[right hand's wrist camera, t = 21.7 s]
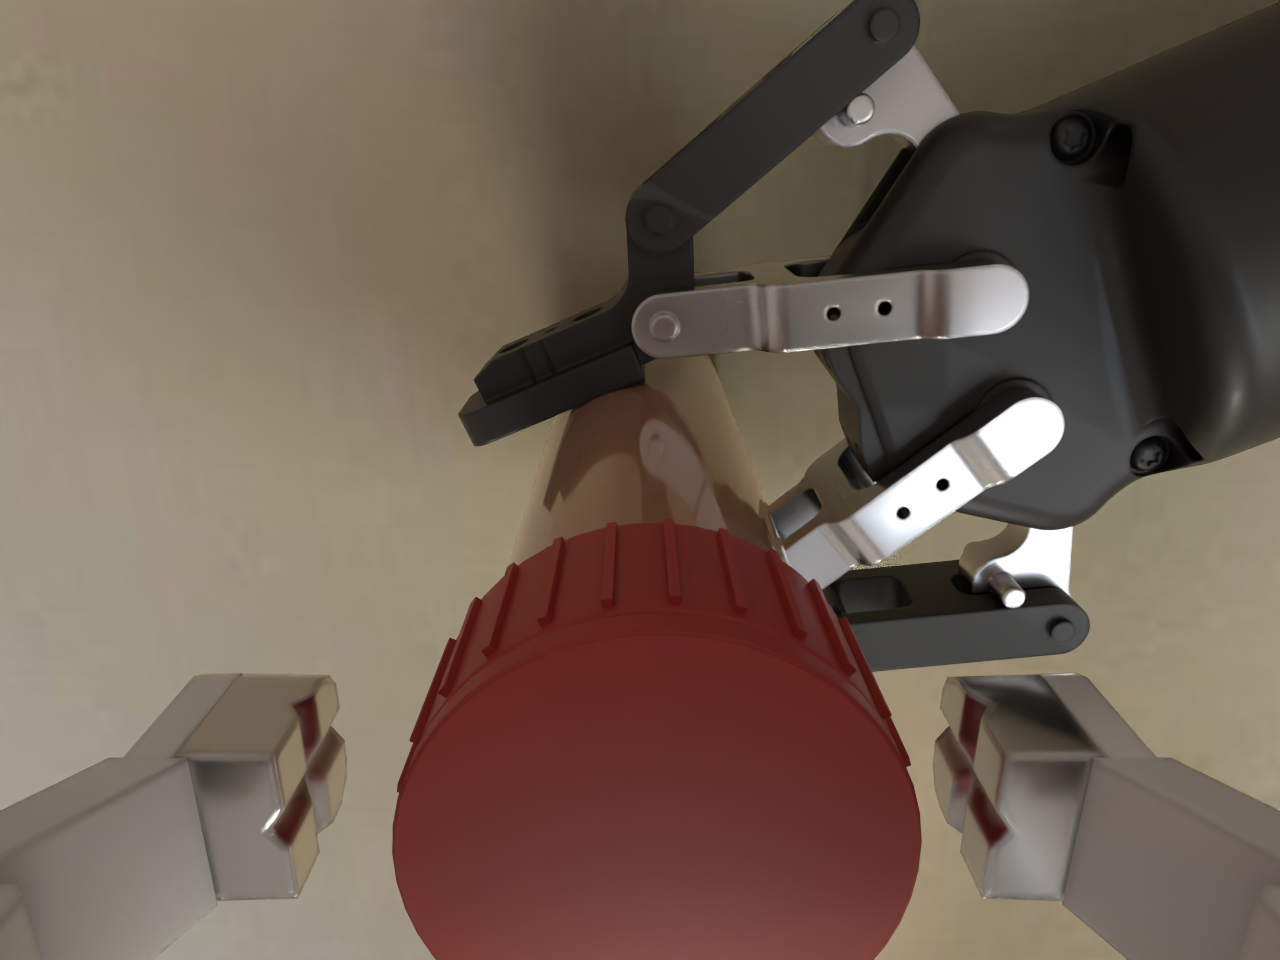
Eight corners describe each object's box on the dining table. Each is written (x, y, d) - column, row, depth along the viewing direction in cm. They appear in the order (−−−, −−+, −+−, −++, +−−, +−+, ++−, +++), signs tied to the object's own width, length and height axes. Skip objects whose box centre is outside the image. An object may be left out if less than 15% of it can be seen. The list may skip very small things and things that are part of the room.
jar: (724, 458, 25) (868, 942, 10) (576, 473, 26) (481, 974, 10) (713, 309, 24) (861, 594, 8) (556, 325, 24) (407, 635, 8)
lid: (398, 825, 11) (336, 998, 9) (498, 457, 9) (454, 553, 7) (777, 917, 12) (811, 1103, 9) (934, 584, 10) (1024, 710, 8)
